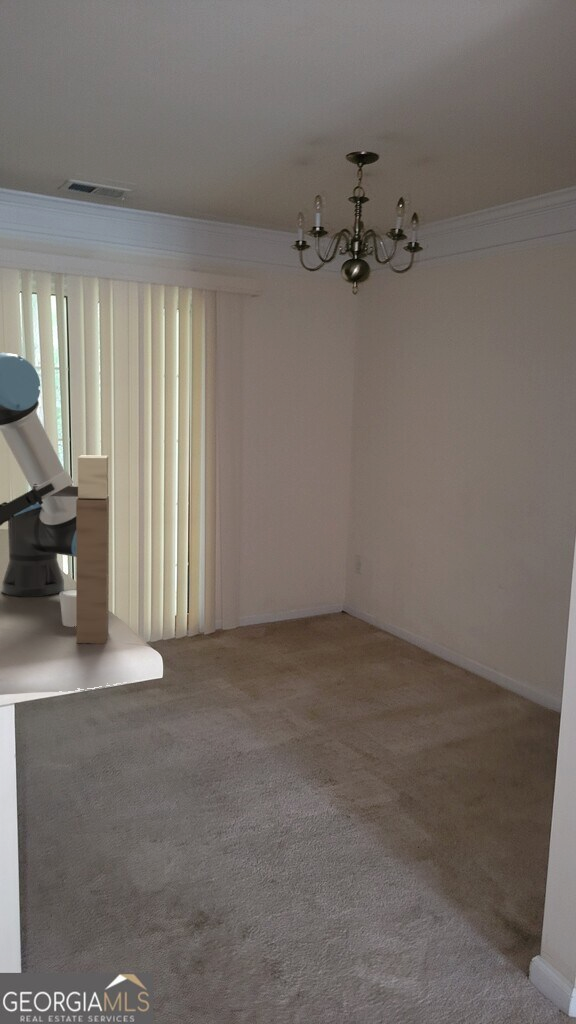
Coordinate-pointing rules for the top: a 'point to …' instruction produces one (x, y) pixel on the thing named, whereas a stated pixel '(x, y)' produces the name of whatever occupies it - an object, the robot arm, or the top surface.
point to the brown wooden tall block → (92, 569)
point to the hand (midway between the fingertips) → (69, 477)
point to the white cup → (68, 607)
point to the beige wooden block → (88, 479)
